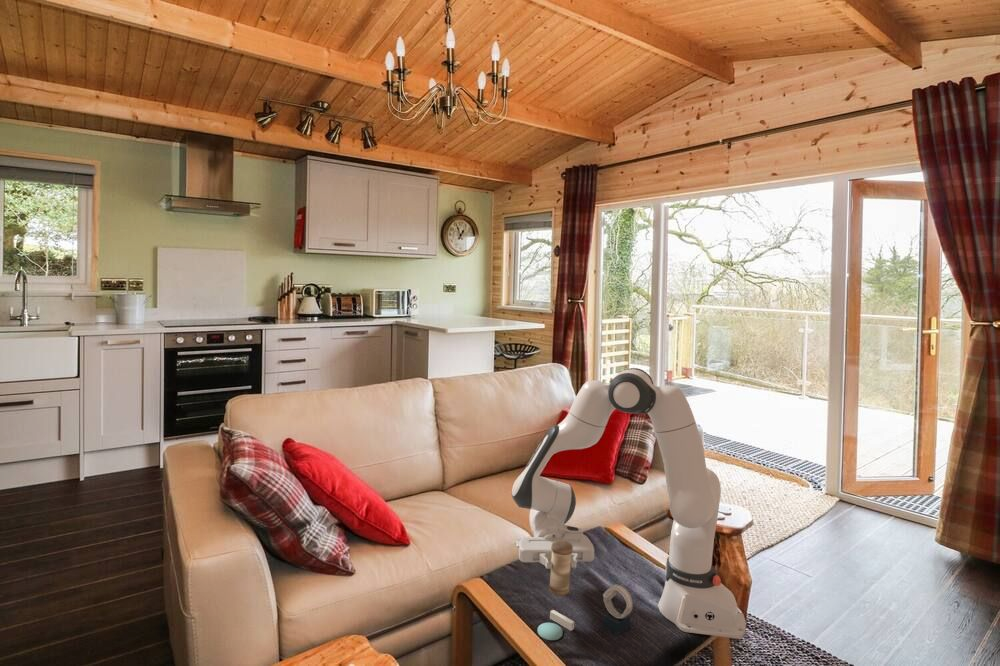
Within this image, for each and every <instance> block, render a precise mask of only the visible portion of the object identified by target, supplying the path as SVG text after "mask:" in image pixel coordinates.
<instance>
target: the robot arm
mask: <svg viewBox="0 0 1000 666" xmlns="http://www.w3.org/2000/svg"><path fill="white" fill-rule="evenodd" d="M615 410H617V411H619V412H621V413H626V414H642V415H648V416H649V418H650V421H651V423H652V428H653V431H654V434H655V438H656V441H657V443H658V447H659V451H660V455H661V458H662V462H663V467H664V476H665V477H664V478H665V481H666V482H665V483H666V488H667V494H668V501H669V502H668V503H669V512H670V515H671V517H672V518H673V522H672V526H671V532H670V540H669V541H670V542H669V552H668V557H667V558H666V561H665V571H664V572H665V573H664V574H665V575H664V576H665V582H664V588H663V591H662V594H661V597H660V599H659V602H658V605H657V608H658V609H659V612H660V613H661V614H662V615H663V617H665V619H667V620H668V621H670V622H672V623H673V624H675V626H676V627H677V628H678V629H679V630H681V632H685V633H692V634H697V635H698V634H699V635H706V636H712V637H715V636H716V637H722V638H732V639H742V638H743V636H745V634H746V629H747V627H746V626H747V622H746V618H745V615H744V613H743V612H742V610H741V609H740V608H739V607H738V603H737V601H736V597H735V596H734V593H732V591H731V590H730V589H729V588H727V587H726V586H725V585H724V584H723V583H722V581H721V580H722V579H721V577H720V576H719V574H720V573H719V570H718V568H717V565H712V564H713V562H712V561H713V553H714V552H713V551H714V544H715V541H714V540H715V537H716V528H717V523H718V516H719V509H720V501H721V495H722V494H721V493H722V487H721V483H720V479H719V478H718V475H717V474H716V473H715V472H714V471H713V470H712V469H710V468H708V467H707V464H706V458H705V448H704V445H703V442H702V439H701V435H700V431H699V429H698V425H697V422H696V419H695V416H694V413H693V411H692V408H691V406H690V404H689V402H688V399H687V397H686V396H685V394H684V392H683V391H682V390H681V389H680V388H679V387H677V386H675V385H671V384H669V385H668V384H667V385H661V386H658V385H657V386H656V385H655V384H654V382H653V379H652V377H651V376H650V374H649V373H647V372H646V371H645V370H643V369H641V368H637V367H632V368H627V369H625V370H622V371H620V372H618V374H616V375H615V376H614V377H613V378H612V379H611V380H610V381H609V383H608V382H604V381H601V380H597V379H595V380H594V379H592V380H588V381H586V382H584V383H583V384H582V386H581V387H580V389H579V391H578V393H577V394H576V396H575V397H574V400H573V402H572V404H571V406H570V408H569V411H568V413H567V415H566V416H565V418H564V419H563V420H562V421H560V422H559V423H558V424H555V425H552V426H550V428H549V429H548V430H547V431H546V433H544V436H543V437H542V439H541V440H540V441H539V444H538V445H537V447H536V448H535V450H534V452H533V454H532V456H531V457H530V459H529V460H528V462H527V463H526V465H525V466H524V468H523V469H522V471H521V472H520V473H519V475H517V477H516V479H515V480H514V482H513V485H512V489H511V497H512V499H513V501H514V502H515V504H516V505H517V506H518V507H519V508H523V509H527V510H529V525H530V529H531V532H532V535H533V536H523V537H520V538H519V539H516V540H515V542H514V544H515V547H516V548H517V549H518V559H519V561H520V562H522V563H539V564H542V565H543V566H545V569H548V570H549V569H550V570H551V568H552V561H551V559H552V549H551V547H552V543H553V542H555V541H566V542H569V543H571V544H572V546H573V551H572V554H571V568H570V569H577V563H579V562H581V563H582V562H585V563H586V562H592V561H594V559H595V547H594V545H593V543H592V542H591V541H592V540H590V539H589V537H588V536H587V535H585V534H584V533H583V532H584V530H583V529H582V528H581V527H577V526H570V525H567V523H568V522H569V521H570V520H571V518H572V517H573V514H574V512H575V509H576V504H577V499H576V493H575V492H574V488H573V487H572V486H571V484H568V483H565V482H562V481H558V480H554V479H551V478H547V477H545V476H544V477H543V476H541V474H542V472H543V470H544V469H545V467H546V465H547V463H548V462H549V461H550V460H551V457H552V456H554V454H557V453H559V452H563V451H569V450H570V451H571V450H584V449H587V448H590V447H592V446H594V445H596V444H598V442H599V441H600V439H601V438H602V436H603V434H604V432H605V430H606V426H607V425H608V422H609V419H610V418H611V417H610V416H611V415H612V413H613V411H615Z"/></svg>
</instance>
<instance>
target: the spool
mask: <svg viewBox="0 0 1000 666" xmlns="http://www.w3.org/2000/svg"><path fill="white" fill-rule="evenodd" d="M551 549H552V559H551V561H552V568H551V569H550V575H549V576H550V578H549V582H548V583H549V584H548V590H549V592H550V593H551V594H553V595H555V596H566V595H569V593H570V589H571V585H570V581H571V580H570V579H571V569H572V568H571V554H572V551H573V546H572V544H571V543H569V542H566V541H555V542H553V543H552V547H551Z"/></svg>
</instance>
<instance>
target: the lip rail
mask: <svg viewBox="0 0 1000 666" xmlns="http://www.w3.org/2000/svg"><path fill="white" fill-rule="evenodd" d="M549 620H552V621H554V622H556V624H557V625H558V624H559V625H560V626H562V627H564V628H565V629H567V630H568V631H570V632H571V631H573V630H574V629H575V621H574V620H572V619H571V618H568V617H567V616H565V615H564V614H561V613H559V612H558V611H557V610H554V609H552V610H550V611H549Z"/></svg>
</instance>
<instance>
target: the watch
mask: <svg viewBox="0 0 1000 666" xmlns="http://www.w3.org/2000/svg"><path fill="white" fill-rule="evenodd" d="M618 593H619V594H621V596H623V598H624V601H625V603H626V607H625V609H624V611H623V610H622V609H620V608H619V607H617V608H615V607H614V604H613V601H612V599H613V598H614V597H615V596H616V595H617V594H618ZM602 597H603V602H604V606H605V608H606V610H607V611H608V612H607V613H605V614H604V615H603V623H602V627H603V628H605V629H606V630H608V631H610V632H611V633H613V634H614V635H615V636H617V635H619V634H620V633H622V632H623V631H625V630H627V629H628V628H630V627H631V626H630V625H631V615H630V614H631V612H632V611H633V606H634V605H633V599H632V596H631V594H630V592H629V591H628V589H627V588H625V587H624V586H622V584H617V583H616V584H613V585H612V586H610V587H609V588H608V589H607V590H605V591H604V592H603V594H602Z"/></svg>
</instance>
